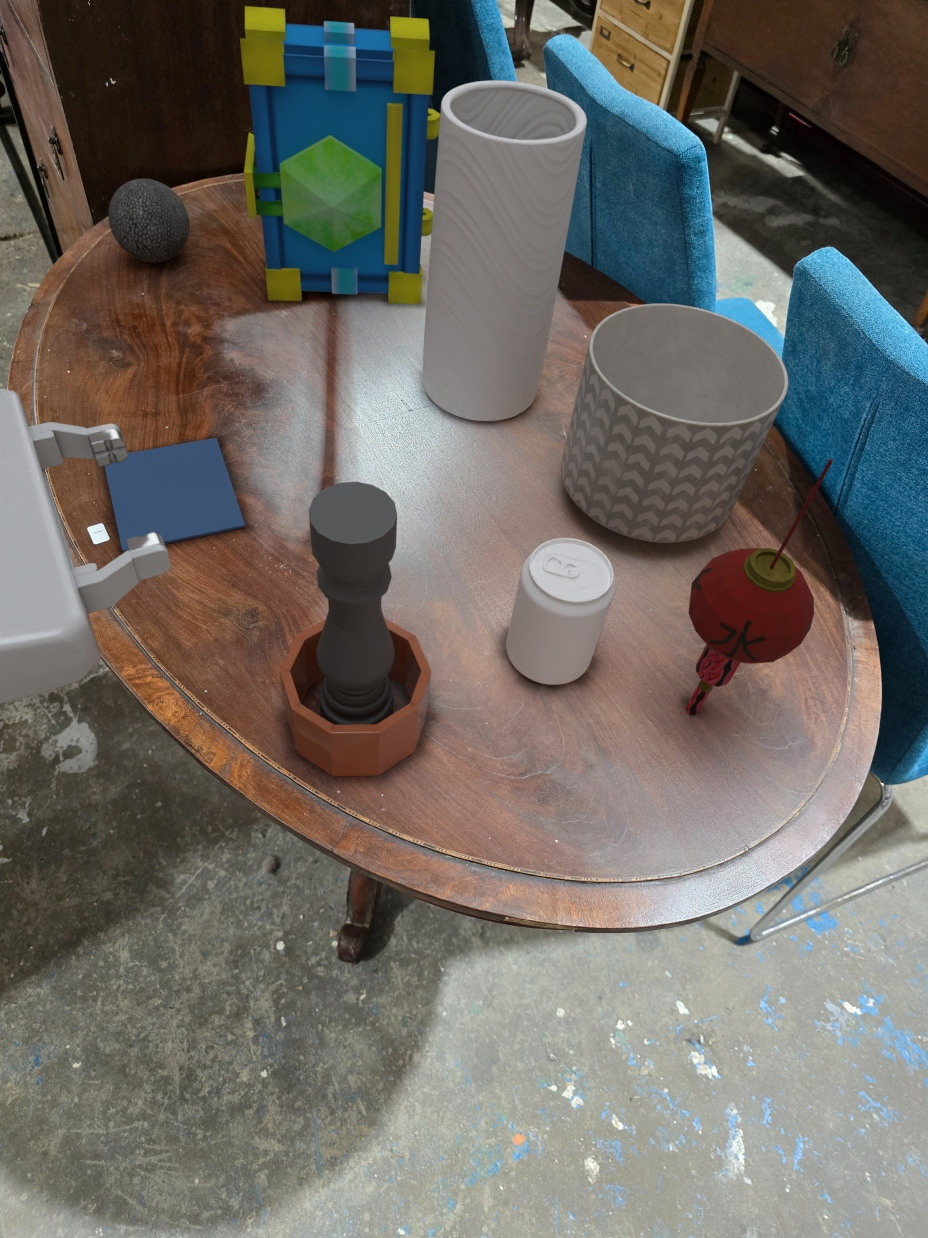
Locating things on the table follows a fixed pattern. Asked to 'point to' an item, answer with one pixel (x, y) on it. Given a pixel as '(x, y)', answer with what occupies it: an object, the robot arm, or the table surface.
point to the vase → (497, 243)
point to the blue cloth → (173, 493)
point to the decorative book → (339, 153)
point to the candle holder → (354, 600)
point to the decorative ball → (149, 220)
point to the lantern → (748, 610)
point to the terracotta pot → (355, 744)
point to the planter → (669, 420)
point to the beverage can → (559, 610)
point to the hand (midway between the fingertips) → (144, 493)
